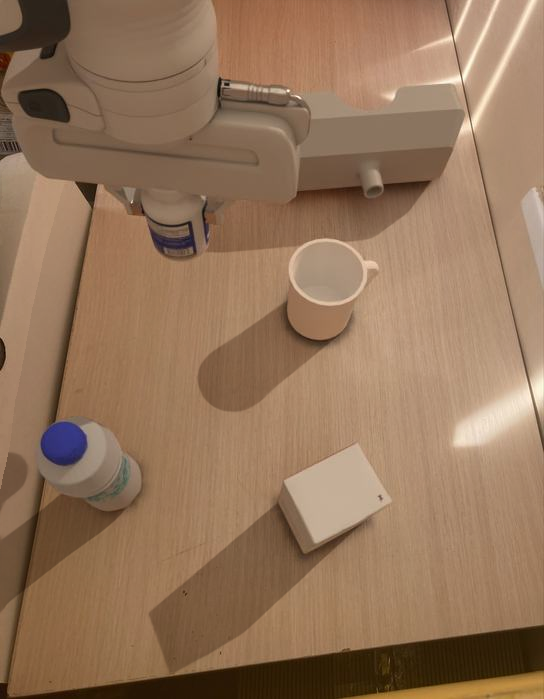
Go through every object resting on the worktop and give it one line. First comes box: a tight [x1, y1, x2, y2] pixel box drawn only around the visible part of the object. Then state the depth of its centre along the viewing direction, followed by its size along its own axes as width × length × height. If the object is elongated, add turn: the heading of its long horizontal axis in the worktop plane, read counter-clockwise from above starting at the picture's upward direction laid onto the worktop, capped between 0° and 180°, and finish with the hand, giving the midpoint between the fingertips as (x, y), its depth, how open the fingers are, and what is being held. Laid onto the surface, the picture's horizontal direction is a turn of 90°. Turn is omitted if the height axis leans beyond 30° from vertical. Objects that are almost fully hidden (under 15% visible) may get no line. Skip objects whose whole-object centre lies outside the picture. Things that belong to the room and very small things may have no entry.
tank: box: [293, 82, 466, 199], centre depth 74 cm, size 25×16×12 cm, turn 97°
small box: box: [277, 442, 393, 555], centre depth 54 cm, size 8×6×13 cm
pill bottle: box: [141, 188, 211, 263], centre depth 45 cm, size 5×5×9 cm
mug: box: [286, 237, 380, 342], centre depth 65 cm, size 11×9×10 cm
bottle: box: [34, 415, 142, 512], centre depth 51 cm, size 7×7×20 cm
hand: (176, 214), depth 46 cm, fingers closed on pill bottle, 5 cm apart
